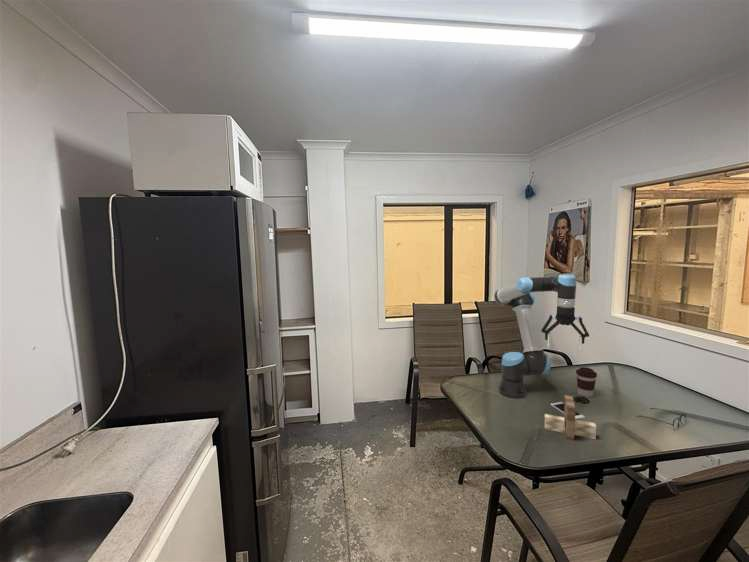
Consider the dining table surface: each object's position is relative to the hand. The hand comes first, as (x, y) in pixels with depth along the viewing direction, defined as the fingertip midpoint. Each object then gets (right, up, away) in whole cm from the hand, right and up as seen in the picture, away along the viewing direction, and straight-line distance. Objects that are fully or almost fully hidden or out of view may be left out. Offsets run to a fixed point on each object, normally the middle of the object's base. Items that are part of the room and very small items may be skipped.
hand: (563, 347), depth 156 cm
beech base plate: (-4, -37, -11) cm, 39 cm away
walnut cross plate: (-4, -37, -11) cm, 39 cm away
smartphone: (+6, -35, +8) cm, 37 cm away
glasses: (+46, -35, -2) cm, 58 cm away
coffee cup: (+27, -32, +24) cm, 48 cm away
